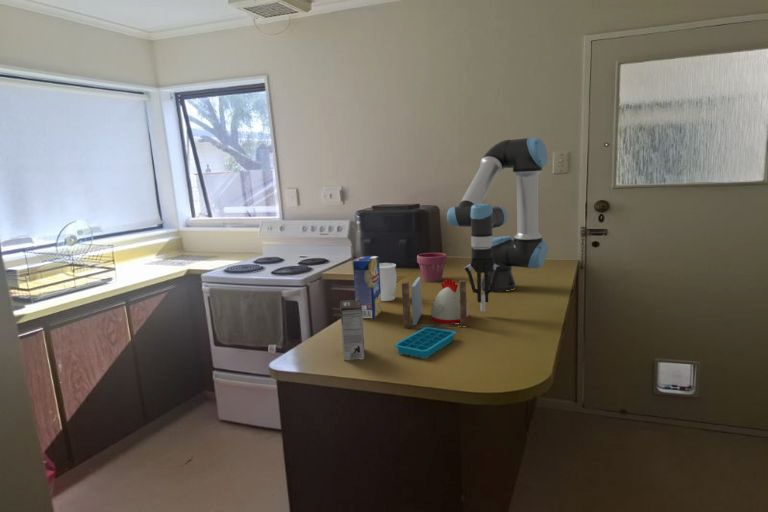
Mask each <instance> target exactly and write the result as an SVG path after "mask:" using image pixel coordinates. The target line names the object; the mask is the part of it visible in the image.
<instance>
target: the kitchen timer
mask: <svg viewBox="0 0 768 512" xmlns="http://www.w3.org/2000/svg"><path fill="white" fill-rule="evenodd" d="M440 285H441V288H442V289H440V291H439V292H438V293H437V295H436V297H435V298H434V301H433V302H432V307H431V311H430V313H431V314H430V320H431V321H432V322H433V321H434V323H436V322H437V323H436V324H440V323H442V324H455V323H460V290H458V286H459V283H457V284H456V280H453V279H452V278H448V277H447V278H446V280H443V282H442V283H440ZM466 312H467V320H468V319H470V311H469V308H468V300H467V299H466ZM468 321H469V320H468Z"/></svg>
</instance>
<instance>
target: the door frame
mask: <svg viewBox="0 0 768 512" xmlns="http://www.w3.org/2000/svg"><path fill="white" fill-rule="evenodd" d="M458 284H459V292H460V323H459V324H440V323H431V324H430V323H429V324H428V323H427V324H425V323H423V324H422V323H421V324H420V323H419V324H418V323H417V325H413V324H412V323H411V305H410V304H411V299H410V298H411V297H410V282H409V281H402V282H401V294H402V295H401V296H402V320H403V329H405V330H409V329H408V328H420V329H423V328H426V327H431V328H437V329H447V328H446V327H458V326H459V327H460V326H461V327H463V326H467V324H468V323H467V322H468V321H467V312H466V300H467V280H465V279H459V283H458ZM467 327H468V326H467ZM406 328H407V329H406ZM463 328H464V327H463Z"/></svg>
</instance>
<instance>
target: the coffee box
mask: <svg viewBox="0 0 768 512" xmlns="http://www.w3.org/2000/svg"><path fill="white" fill-rule="evenodd" d="M339 302H340V303H339V305H340V324H341V326H340V327H341V338H342V340H341V341H342V350H343V351H342V352H343V361H344V360H346V361H348V360H347V359H359V358H365V338H364V334H365V333H364V319H363V316H362V305H361V300H355V299H347V300H340V301H339Z"/></svg>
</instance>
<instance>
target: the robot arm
mask: <svg viewBox="0 0 768 512" xmlns="http://www.w3.org/2000/svg"><path fill="white" fill-rule="evenodd" d="M546 147H547V146H546V144H545V142H544V140H542V139H541V138H539V137H528V138H515V139H504V140H501V141H498V142H497V143H496V144H494V145H492V146H491V147H490V149H488V150H487V151H486V152H485V153H484V155H483V156H482V158H481V160H480V162H479V169H477V172H476V174H475V176H474V177H473V179H472V181H471V183H470V185H469V186H468V188H467V189H466V192H465V193H464V195H463V197H462V199H461V201H460V202H459V204H458V205H457V206H456V205H455V206H451V207H450V208H449V209H448V210H447V213H446V219H447V222H448V224H449V225H450V226H453V227H464V228H465V227H466V228H467V227H468V228H469V227H470V231H471V232H470V239H471V241H470V244H471V250H470V251H471V259H470V260H471V261H470V263H469V264H468V265H465V266H464V270H465V272H466V273H467V275H468V280H469V284H470V286H471V290H472V293H475V294H476V296H477V297H476V299H477V303H480V313H486V303H489V294H490V293H494V292H493V291H506V290H511V289H514V288H515V287H516V285H517V283H516V281H515V277H514V275H513V271H512V269H513V267H515V268H522V269H523V268H525V269H539V268H542V266H543V265H544V263H545V261H546V258H547V254H548V244H547V242H546V241H545V240H543V235H542V234H541V233H540V232H539V175H540V174H541V172H543V168H544V167H546V166H547V162H548V151H547V148H546ZM504 169H512V173H513V174H514V175H515V176H516V212H517V213H516V219H517V221H516V223H517V227H516V229H517V233H516V234H515V235H514V236H513V237H512V236H511V235H504V236H503V235H502V236H495V237H493V229H494V228H499V227H501V226H503V225H505V224H506V222H507V221H508V217H509V216H508V212H507V210H506V208H504V207H502V206H498V205H497V206H492V204H491V203H483V201H484V199H485V197H486V196H487V194H488V192H489V190H490V188H491V187H492V185H493V182H494V181H495V179H496V177H497V176H498V175H500V173H501V172H502V170H504ZM472 269H473V270H474V272H475V273H476V286H475V283H474V278H473V275H472ZM482 274H483V277H482ZM481 288H482V289H481ZM516 288H517V287H516ZM483 289H484V290H483ZM482 290H483V292H482Z"/></svg>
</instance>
